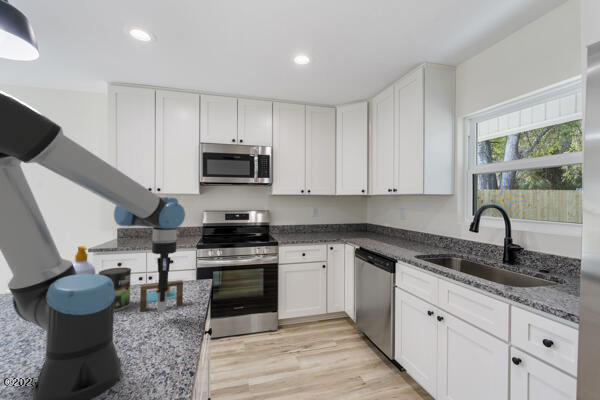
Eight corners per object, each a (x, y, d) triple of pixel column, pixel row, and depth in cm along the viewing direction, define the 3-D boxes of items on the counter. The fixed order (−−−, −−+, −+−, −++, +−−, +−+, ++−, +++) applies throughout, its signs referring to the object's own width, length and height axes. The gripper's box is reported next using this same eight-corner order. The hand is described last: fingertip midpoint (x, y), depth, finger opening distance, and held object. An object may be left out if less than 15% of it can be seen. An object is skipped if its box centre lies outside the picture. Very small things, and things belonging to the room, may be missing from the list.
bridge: (182, 305, 106) (182, 281, 106) (140, 311, 99) (140, 287, 99) (181, 302, 109) (182, 279, 109) (140, 308, 102) (140, 284, 102)
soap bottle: (68, 317, 93) (70, 249, 93) (61, 310, 99) (63, 246, 99) (98, 310, 100) (100, 246, 100) (90, 303, 106) (92, 243, 106)
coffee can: (136, 302, 108) (136, 267, 108) (118, 312, 98) (119, 274, 98) (111, 301, 108) (111, 266, 109) (90, 312, 98) (91, 273, 98)
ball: (165, 291, 120) (166, 300, 116) (153, 288, 117) (153, 297, 113) (172, 281, 120) (173, 290, 115) (160, 278, 116) (160, 287, 112)
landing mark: (176, 297, 114) (176, 297, 114) (144, 302, 108) (144, 302, 108) (174, 289, 124) (174, 289, 124) (144, 293, 118) (144, 293, 118)
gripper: (178, 243, 89) (175, 315, 88) (175, 239, 100) (172, 302, 99) (152, 244, 85) (149, 319, 84) (152, 239, 97) (149, 305, 96)
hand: (161, 309), depth 92 cm, fingers closed
